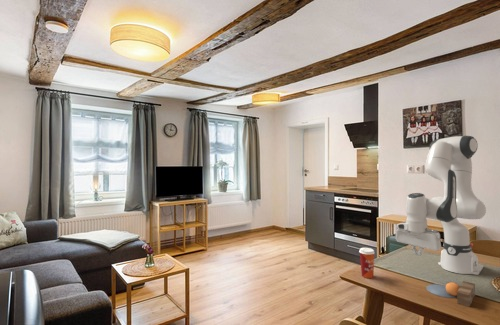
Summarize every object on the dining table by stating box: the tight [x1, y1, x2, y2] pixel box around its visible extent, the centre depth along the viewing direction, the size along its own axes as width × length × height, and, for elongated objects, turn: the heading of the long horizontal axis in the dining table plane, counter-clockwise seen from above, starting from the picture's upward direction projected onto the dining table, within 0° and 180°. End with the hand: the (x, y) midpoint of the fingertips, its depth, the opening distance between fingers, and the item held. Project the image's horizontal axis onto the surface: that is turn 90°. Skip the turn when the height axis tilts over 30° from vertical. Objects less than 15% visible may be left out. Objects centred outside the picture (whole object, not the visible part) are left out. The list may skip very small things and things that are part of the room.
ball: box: [445, 281, 460, 296], centre depth 125 cm, size 6×6×6 cm
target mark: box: [425, 283, 457, 299], centre depth 130 cm, size 13×13×1 cm
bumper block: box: [456, 281, 476, 308], centre depth 122 cm, size 14×4×5 cm, turn 134°
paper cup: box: [358, 247, 376, 279], centre depth 148 cm, size 8×8×14 cm
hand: (417, 254), depth 139 cm, fingers closed
